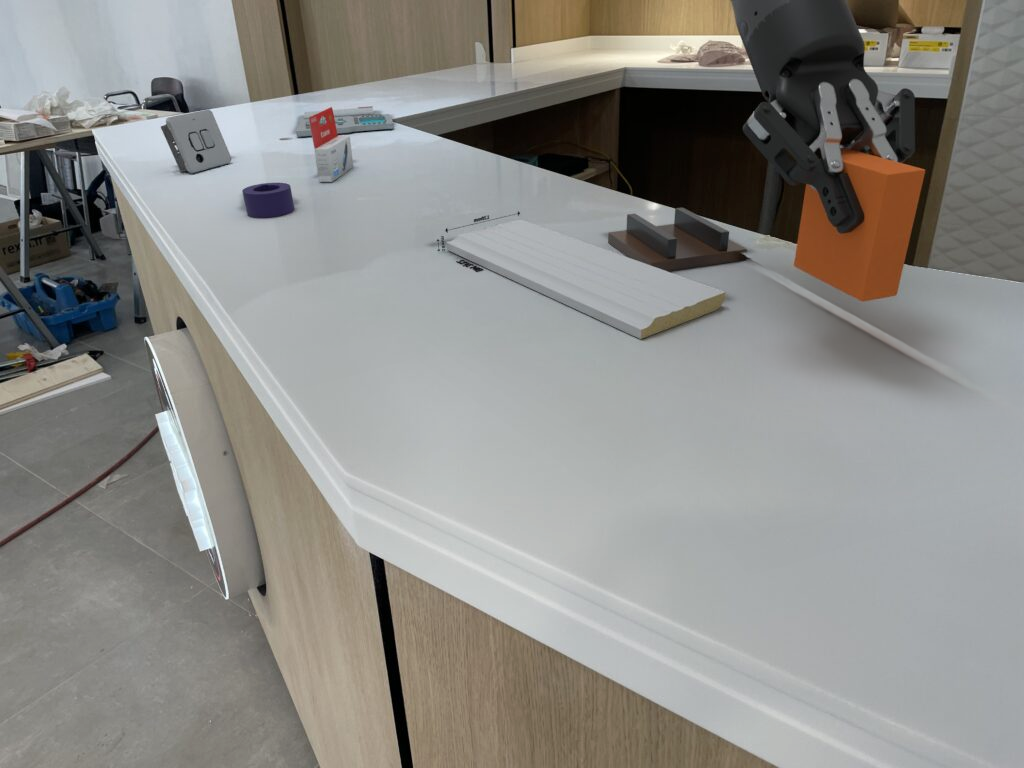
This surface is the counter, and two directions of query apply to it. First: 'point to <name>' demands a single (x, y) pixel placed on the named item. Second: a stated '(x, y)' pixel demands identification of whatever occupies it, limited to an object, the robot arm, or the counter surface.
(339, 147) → the ink cartridge box
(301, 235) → the counter surface
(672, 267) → the brown slotted base
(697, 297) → the baseboard molding
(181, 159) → the electrical switch
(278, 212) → the purple donut ring
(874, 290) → the orange rectangular block
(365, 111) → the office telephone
